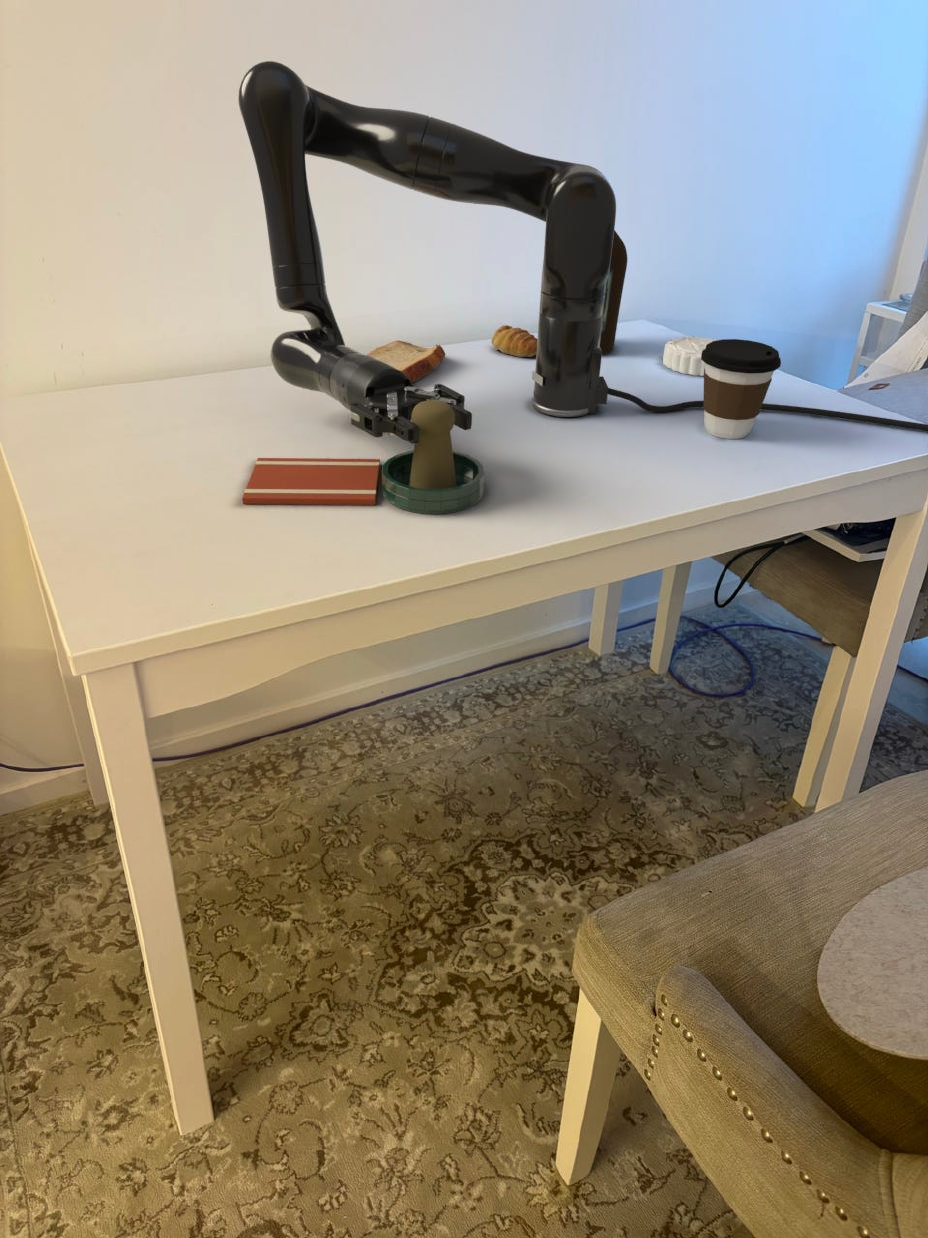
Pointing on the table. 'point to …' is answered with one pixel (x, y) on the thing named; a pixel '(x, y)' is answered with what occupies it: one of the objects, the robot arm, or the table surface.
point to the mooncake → (686, 355)
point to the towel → (313, 481)
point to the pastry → (514, 341)
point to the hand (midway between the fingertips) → (443, 428)
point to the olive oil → (613, 294)
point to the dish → (432, 500)
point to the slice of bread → (409, 358)
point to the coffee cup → (735, 384)
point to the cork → (433, 446)
